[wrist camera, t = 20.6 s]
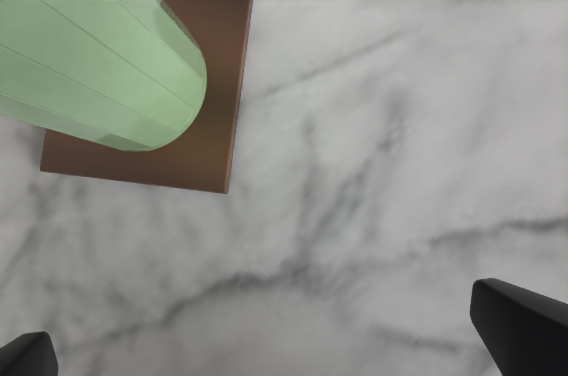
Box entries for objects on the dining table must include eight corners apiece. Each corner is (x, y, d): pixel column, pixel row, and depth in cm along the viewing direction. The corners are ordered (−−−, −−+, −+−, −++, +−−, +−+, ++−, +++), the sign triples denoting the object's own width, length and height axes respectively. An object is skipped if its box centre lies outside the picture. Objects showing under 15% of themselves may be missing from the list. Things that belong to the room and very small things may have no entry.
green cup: (224, 30, 19) (-14, -327, 7) (184, 167, 19) (-139, 73, 6) (99, 3, 21) (-307, -343, 8) (61, 133, 20) (-418, -5, 8)
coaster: (227, 194, 19) (224, 193, 19) (47, 172, 21) (38, 170, 21) (253, -4, 20) (250, -11, 19) (75, -10, 22) (68, -17, 21)
